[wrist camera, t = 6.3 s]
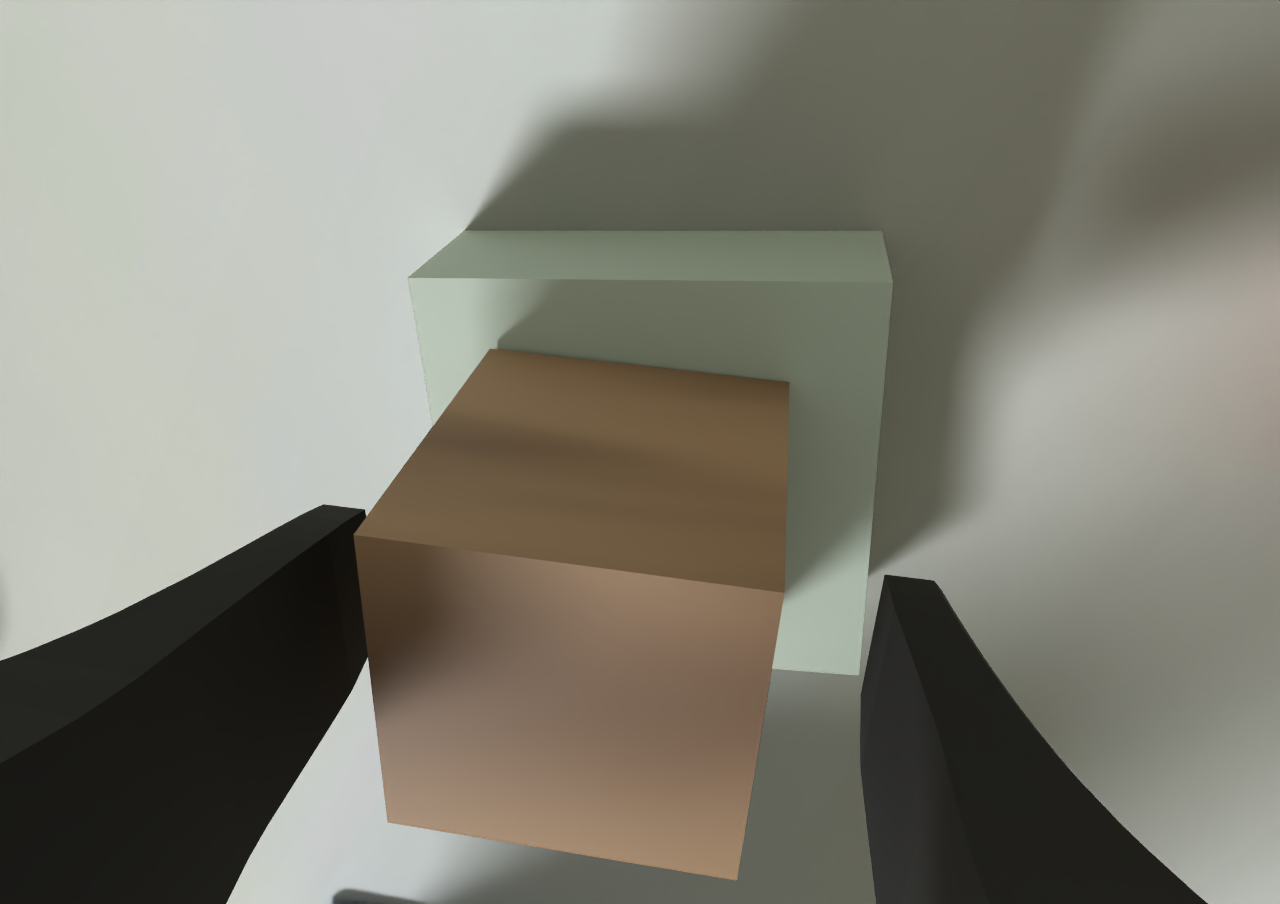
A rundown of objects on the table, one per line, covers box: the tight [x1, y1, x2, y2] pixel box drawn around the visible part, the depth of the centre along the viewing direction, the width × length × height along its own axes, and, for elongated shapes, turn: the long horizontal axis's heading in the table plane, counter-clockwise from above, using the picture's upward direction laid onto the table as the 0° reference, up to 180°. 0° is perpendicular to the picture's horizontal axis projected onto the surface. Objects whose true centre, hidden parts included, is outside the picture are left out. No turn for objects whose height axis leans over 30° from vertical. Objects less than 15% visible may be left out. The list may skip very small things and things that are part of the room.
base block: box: [408, 230, 893, 675], centre depth 16 cm, size 7×7×3 cm
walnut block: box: [354, 349, 790, 881], centre depth 13 cm, size 4×4×5 cm
